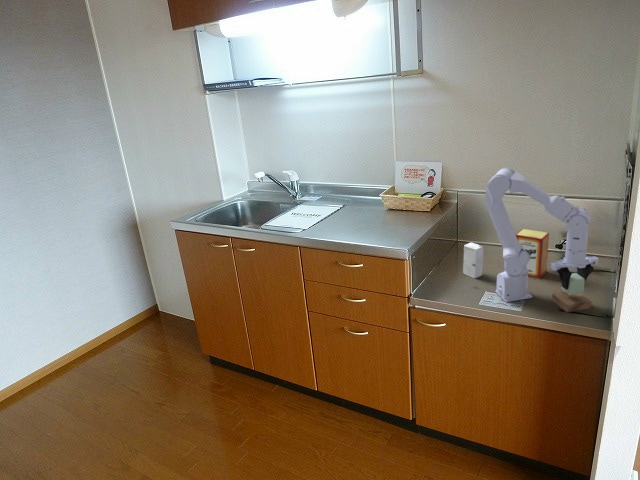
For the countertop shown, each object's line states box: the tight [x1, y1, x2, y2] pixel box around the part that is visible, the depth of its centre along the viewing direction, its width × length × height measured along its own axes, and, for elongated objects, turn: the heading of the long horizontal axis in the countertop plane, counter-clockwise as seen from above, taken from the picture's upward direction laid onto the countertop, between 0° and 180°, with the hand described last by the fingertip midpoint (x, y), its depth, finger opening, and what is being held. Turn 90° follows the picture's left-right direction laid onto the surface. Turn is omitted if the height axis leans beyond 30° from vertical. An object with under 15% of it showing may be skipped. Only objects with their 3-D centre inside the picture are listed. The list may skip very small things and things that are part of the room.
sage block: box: [561, 272, 586, 295], centre depth 147 cm, size 4×4×5 cm
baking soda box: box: [515, 228, 550, 279], centre depth 170 cm, size 10×6×16 cm
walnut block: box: [551, 291, 592, 313], centre depth 150 cm, size 8×8×3 cm
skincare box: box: [462, 242, 484, 279], centre depth 175 cm, size 6×4×12 cm
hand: (572, 286), depth 148 cm, fingers closed on sage block, 4 cm apart
